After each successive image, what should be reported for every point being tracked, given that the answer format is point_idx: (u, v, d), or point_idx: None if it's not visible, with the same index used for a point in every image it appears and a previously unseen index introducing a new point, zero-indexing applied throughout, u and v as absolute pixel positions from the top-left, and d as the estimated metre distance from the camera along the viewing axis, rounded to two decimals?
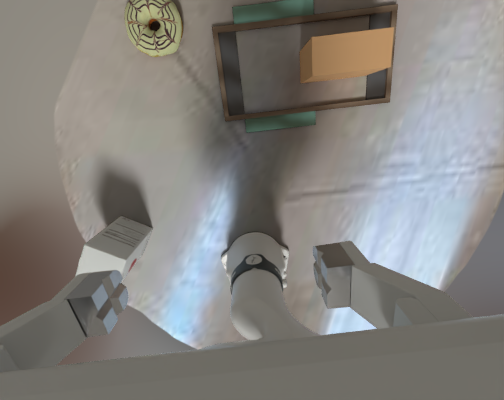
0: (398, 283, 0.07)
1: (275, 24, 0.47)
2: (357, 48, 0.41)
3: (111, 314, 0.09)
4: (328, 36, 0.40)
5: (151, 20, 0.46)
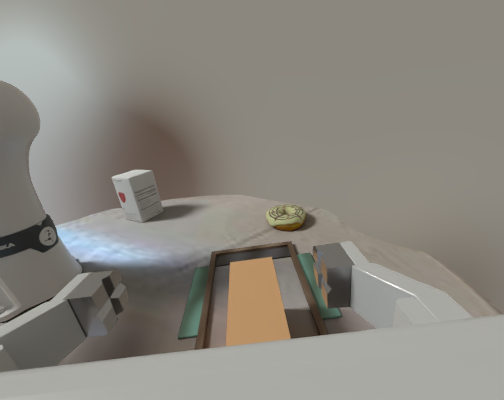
0: (398, 283, 0.07)
1: (301, 280, 0.41)
2: (259, 301, 0.26)
3: (111, 314, 0.09)
4: (273, 269, 0.31)
5: None
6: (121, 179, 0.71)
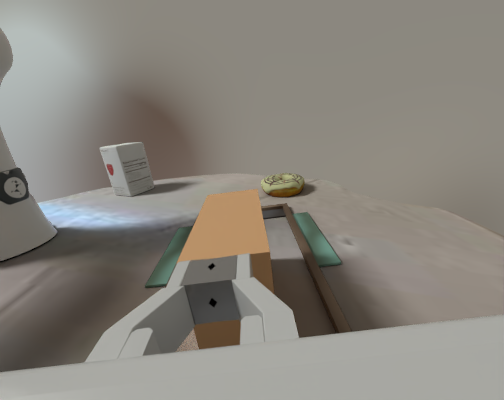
0: (257, 300, 0.07)
1: (295, 233, 0.36)
2: (234, 218, 0.21)
3: None
4: (257, 196, 0.25)
5: None
6: (109, 148, 0.67)
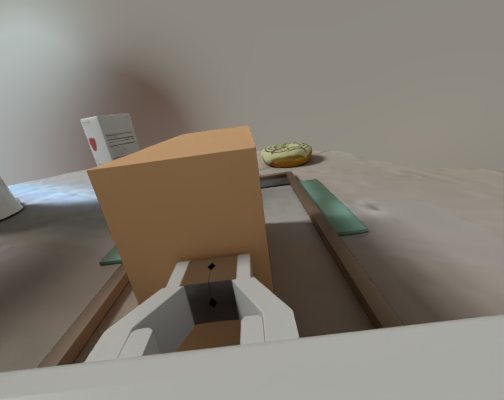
0: (257, 300, 0.07)
1: (302, 198, 0.28)
2: (209, 138, 0.14)
3: (216, 301, 0.09)
4: (246, 127, 0.19)
5: None
6: (90, 119, 0.59)
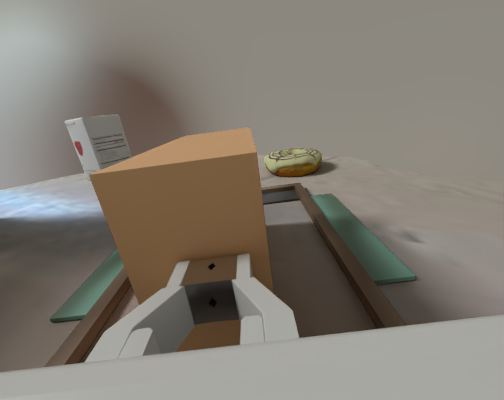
0: (257, 300, 0.07)
1: (319, 222, 0.22)
2: (210, 141, 0.14)
3: None
4: (247, 130, 0.19)
5: None
6: (74, 121, 0.54)
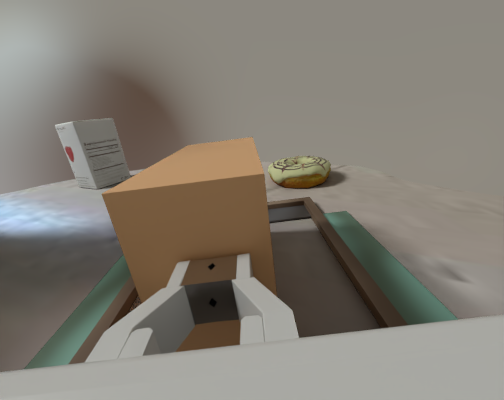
0: (257, 300, 0.07)
1: (339, 251, 0.19)
2: (215, 154, 0.14)
3: None
4: (251, 141, 0.19)
5: None
6: (65, 125, 0.50)
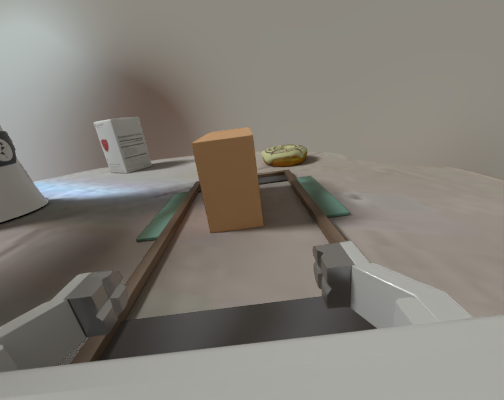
0: (398, 284, 0.07)
1: (299, 191, 0.33)
2: (230, 133, 0.28)
3: (111, 314, 0.09)
4: (248, 128, 0.33)
5: None
6: (103, 122, 0.64)
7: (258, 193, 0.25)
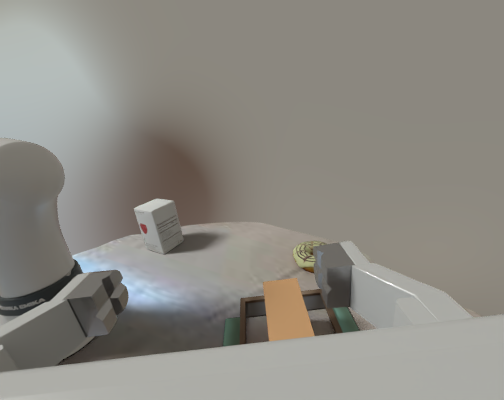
0: (398, 283, 0.07)
1: None
2: (290, 316, 0.34)
3: (111, 314, 0.09)
4: (299, 289, 0.39)
5: None
6: (143, 211, 0.70)
7: None
